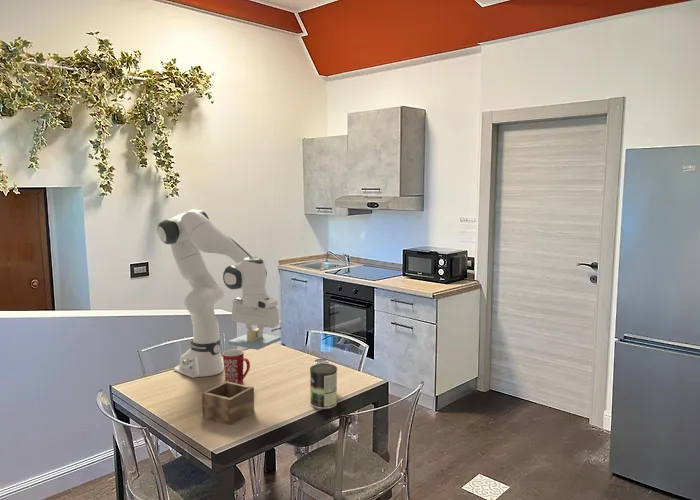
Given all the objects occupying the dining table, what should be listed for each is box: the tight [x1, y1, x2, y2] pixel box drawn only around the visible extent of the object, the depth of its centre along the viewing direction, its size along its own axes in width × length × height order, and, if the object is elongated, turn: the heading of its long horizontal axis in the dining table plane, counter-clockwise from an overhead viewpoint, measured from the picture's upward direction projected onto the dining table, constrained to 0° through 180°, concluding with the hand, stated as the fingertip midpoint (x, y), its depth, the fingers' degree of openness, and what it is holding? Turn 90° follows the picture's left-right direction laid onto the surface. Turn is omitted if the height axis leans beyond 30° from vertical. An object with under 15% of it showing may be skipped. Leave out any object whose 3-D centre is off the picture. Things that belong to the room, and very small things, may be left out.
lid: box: [228, 327, 282, 351], centre depth 201 cm, size 14×14×6 cm
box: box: [201, 381, 255, 426], centre depth 191 cm, size 13×13×9 cm
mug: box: [221, 348, 251, 385], centre depth 220 cm, size 13×9×14 cm
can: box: [313, 358, 330, 365], centre depth 215 cm, size 6×6×12 cm
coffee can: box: [309, 363, 338, 410], centre depth 200 cm, size 10×10×14 cm
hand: (255, 335), depth 201 cm, fingers closed on lid
